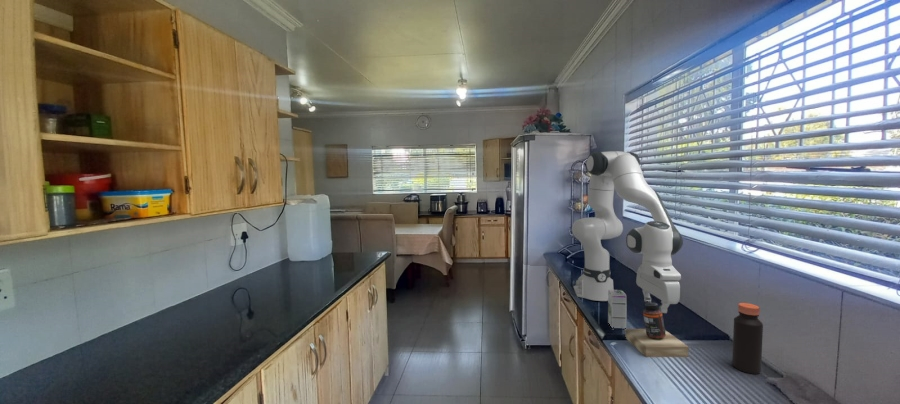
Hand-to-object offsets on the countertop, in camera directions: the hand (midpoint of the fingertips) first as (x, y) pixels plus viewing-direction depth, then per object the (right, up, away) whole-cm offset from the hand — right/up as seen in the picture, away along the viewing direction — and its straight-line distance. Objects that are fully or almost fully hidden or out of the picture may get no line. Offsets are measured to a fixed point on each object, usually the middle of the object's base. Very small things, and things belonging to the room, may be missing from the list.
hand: (655, 306), depth 120 cm
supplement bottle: (+1, -11, +1) cm, 11 cm away
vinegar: (+20, -15, -14) cm, 29 cm away
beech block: (0, -15, +1) cm, 15 cm away
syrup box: (-5, -14, +17) cm, 22 cm away
